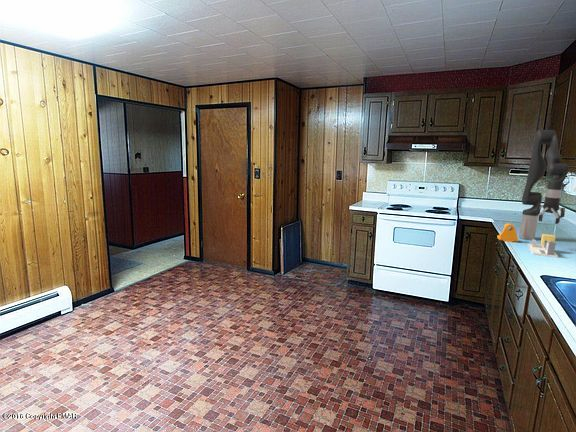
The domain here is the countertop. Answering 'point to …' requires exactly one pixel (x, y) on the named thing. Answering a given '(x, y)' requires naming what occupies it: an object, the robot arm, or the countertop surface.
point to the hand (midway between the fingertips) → (548, 222)
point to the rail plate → (543, 248)
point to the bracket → (508, 234)
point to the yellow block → (547, 238)
